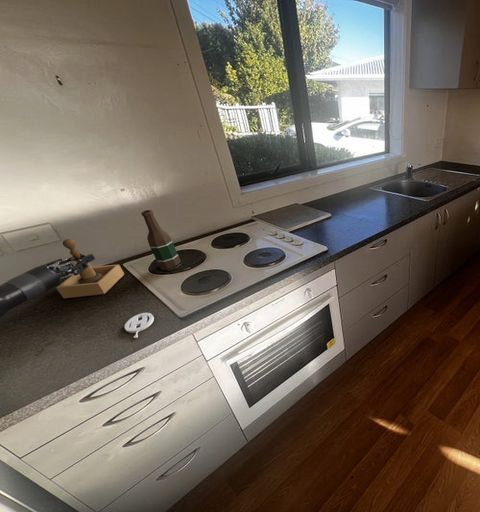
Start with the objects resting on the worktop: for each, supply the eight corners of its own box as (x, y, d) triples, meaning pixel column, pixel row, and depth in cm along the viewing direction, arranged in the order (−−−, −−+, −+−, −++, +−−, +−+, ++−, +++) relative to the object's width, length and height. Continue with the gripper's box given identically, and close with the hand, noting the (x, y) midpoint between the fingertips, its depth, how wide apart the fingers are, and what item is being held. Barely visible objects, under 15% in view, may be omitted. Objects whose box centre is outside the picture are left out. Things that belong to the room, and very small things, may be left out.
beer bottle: (184, 259, 123) (161, 206, 110) (179, 269, 116) (155, 213, 104) (163, 262, 120) (138, 208, 108) (157, 272, 114) (129, 216, 102)
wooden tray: (63, 298, 101) (55, 287, 98) (87, 277, 111) (81, 268, 109) (104, 293, 103) (98, 283, 100) (124, 274, 113) (119, 264, 111)
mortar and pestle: (99, 287, 104) (72, 243, 95) (77, 289, 103) (48, 245, 94) (108, 277, 110) (84, 234, 101) (87, 279, 108) (61, 236, 99)
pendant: (155, 311, 94) (154, 309, 94) (151, 333, 86) (150, 331, 86) (128, 319, 91) (127, 317, 91) (121, 342, 83) (120, 340, 83)
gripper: (44, 275, 86) (99, 247, 101) (4, 272, 88) (64, 245, 103) (59, 295, 90) (110, 265, 105) (19, 292, 92) (75, 263, 106)
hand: (87, 256), depth 104 cm, fingers closed on mortar and pestle, 4 cm apart
